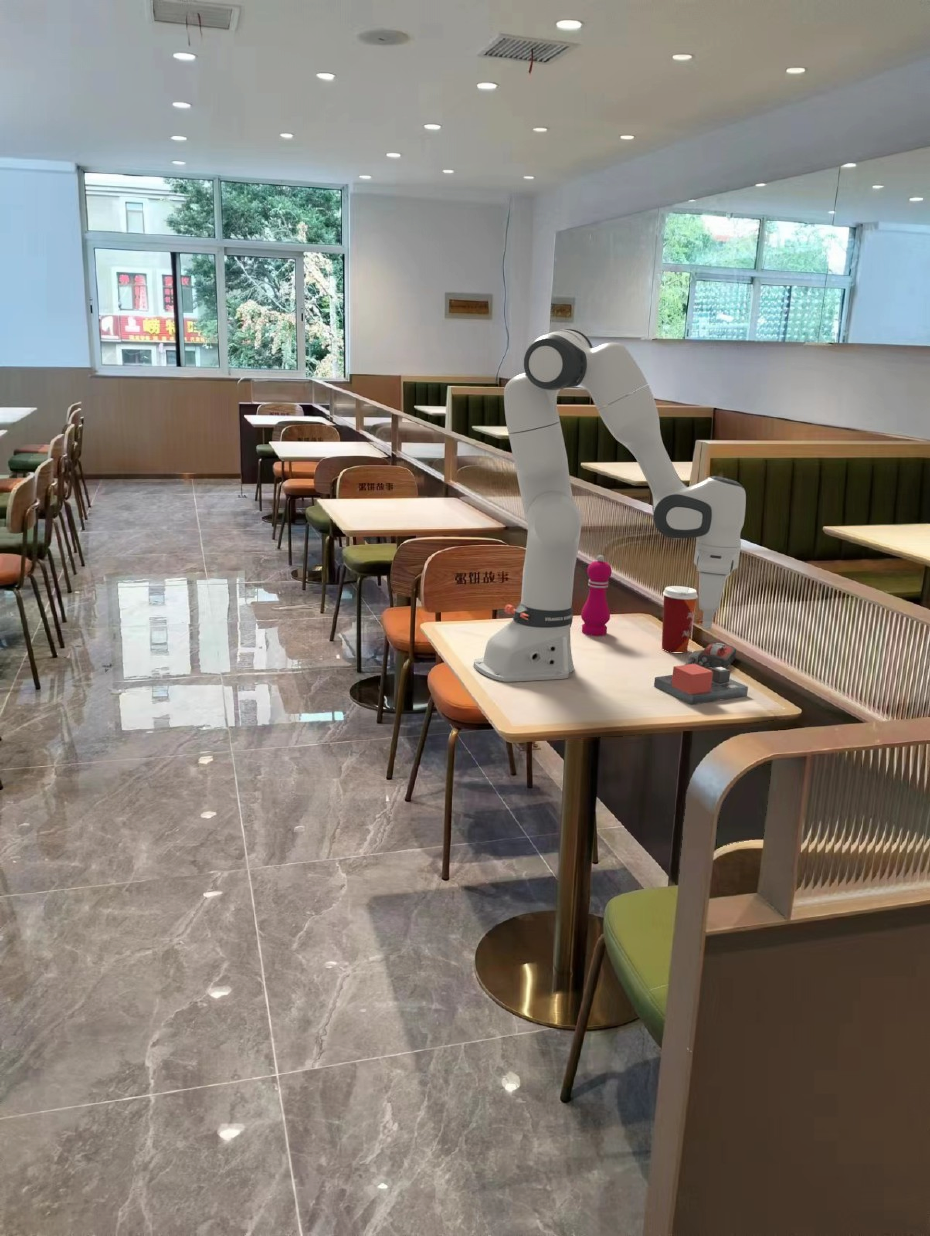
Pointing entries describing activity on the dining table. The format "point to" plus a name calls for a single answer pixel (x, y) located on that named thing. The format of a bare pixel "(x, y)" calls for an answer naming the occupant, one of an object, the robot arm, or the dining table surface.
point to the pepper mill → (597, 599)
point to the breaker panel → (717, 692)
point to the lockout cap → (692, 678)
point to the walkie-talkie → (713, 656)
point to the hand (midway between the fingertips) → (708, 622)
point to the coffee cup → (677, 617)
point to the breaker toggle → (720, 674)
